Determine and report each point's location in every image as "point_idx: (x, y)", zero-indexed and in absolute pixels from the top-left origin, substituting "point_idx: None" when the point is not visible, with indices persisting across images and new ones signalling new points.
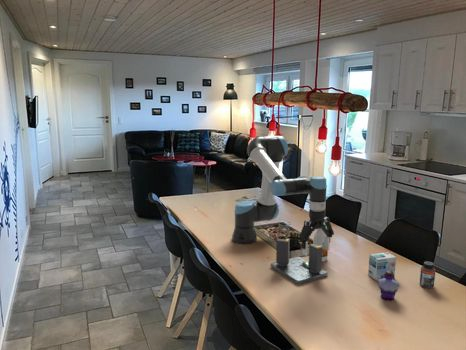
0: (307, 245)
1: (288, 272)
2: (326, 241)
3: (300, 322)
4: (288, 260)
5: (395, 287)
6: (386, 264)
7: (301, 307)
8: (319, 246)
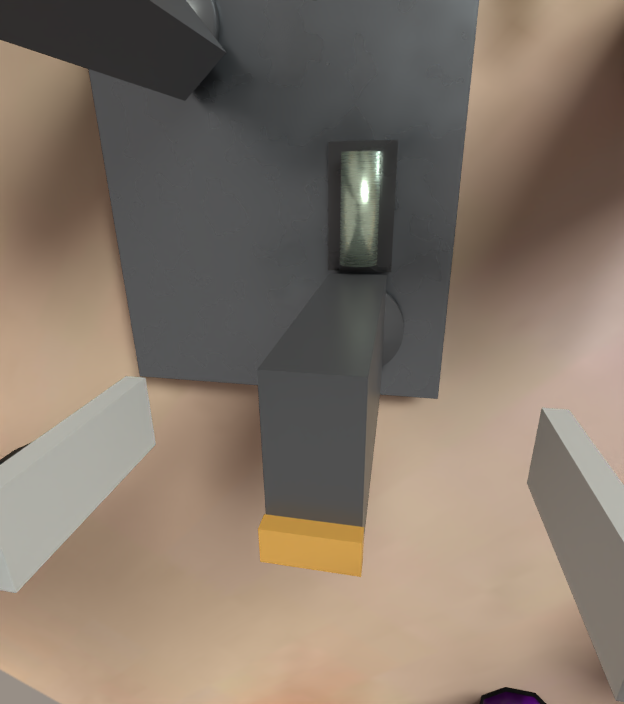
0: (55, 546)
1: (140, 221)
2: (582, 549)
3: None
4: (184, 72)
5: None
6: None
7: None
8: (314, 557)
